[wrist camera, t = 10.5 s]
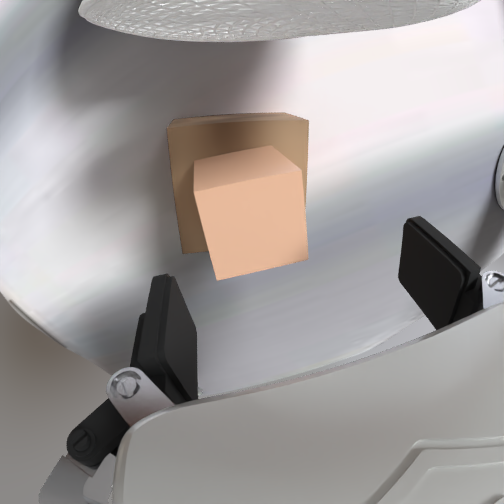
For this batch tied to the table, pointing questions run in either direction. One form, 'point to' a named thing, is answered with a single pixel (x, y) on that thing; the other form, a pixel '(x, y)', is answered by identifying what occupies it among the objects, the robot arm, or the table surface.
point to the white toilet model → (259, 17)
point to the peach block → (251, 210)
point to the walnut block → (222, 142)
